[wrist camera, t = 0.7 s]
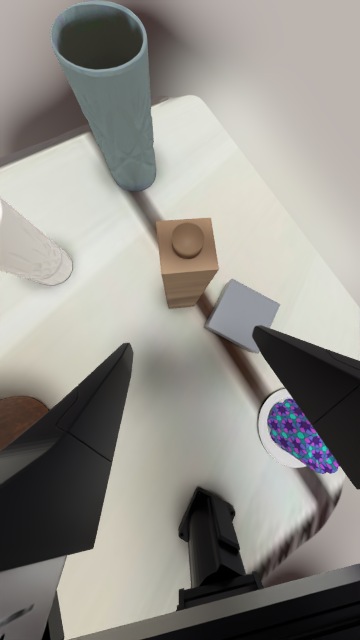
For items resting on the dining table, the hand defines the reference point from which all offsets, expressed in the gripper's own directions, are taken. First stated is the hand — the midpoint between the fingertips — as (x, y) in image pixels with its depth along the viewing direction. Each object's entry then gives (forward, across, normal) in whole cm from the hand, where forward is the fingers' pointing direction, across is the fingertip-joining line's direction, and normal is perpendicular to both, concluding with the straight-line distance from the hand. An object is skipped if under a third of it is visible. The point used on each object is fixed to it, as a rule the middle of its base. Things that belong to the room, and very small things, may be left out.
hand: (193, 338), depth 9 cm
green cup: (+31, +5, -18) cm, 36 cm away
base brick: (+12, -10, +6) cm, 17 cm away
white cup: (+20, +21, -4) cm, 29 cm away
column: (+15, 0, +2) cm, 15 cm away
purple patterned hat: (0, -16, +22) cm, 27 cm away
